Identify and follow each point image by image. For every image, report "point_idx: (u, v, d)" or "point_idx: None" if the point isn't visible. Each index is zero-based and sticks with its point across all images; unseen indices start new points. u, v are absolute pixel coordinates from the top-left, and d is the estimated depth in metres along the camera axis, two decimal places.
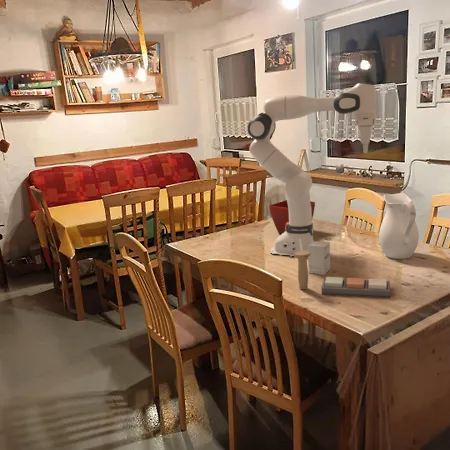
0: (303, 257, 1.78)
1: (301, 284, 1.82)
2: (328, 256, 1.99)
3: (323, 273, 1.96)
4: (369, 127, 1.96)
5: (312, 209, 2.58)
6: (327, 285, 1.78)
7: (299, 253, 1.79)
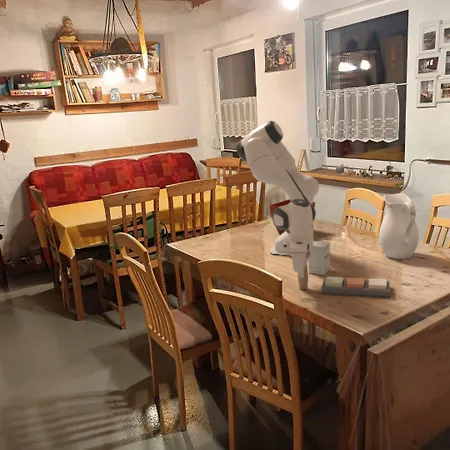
0: None
1: (301, 284, 1.82)
2: (328, 256, 1.99)
3: (323, 273, 1.96)
4: (302, 255, 1.71)
5: None
6: (327, 285, 1.78)
7: None
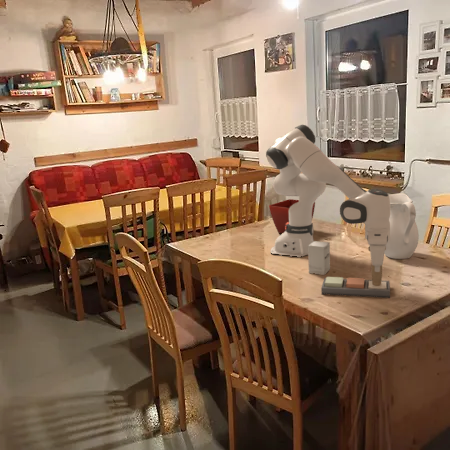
0: None
1: (375, 280, 1.73)
2: (328, 256, 1.99)
3: (323, 273, 1.96)
4: (382, 247, 1.62)
5: (312, 209, 2.58)
6: (327, 285, 1.78)
7: None
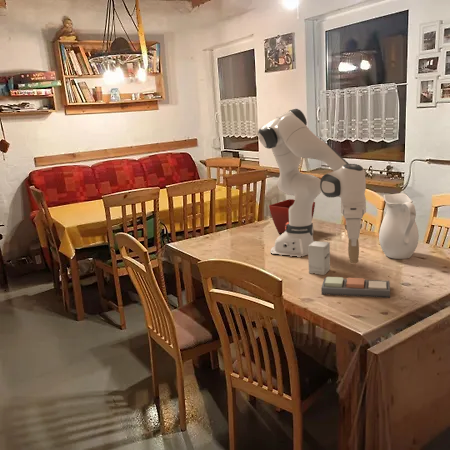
0: None
1: (352, 258, 1.75)
2: (328, 256, 1.99)
3: (323, 273, 1.96)
4: (358, 221, 1.63)
5: (312, 209, 2.58)
6: (327, 285, 1.78)
7: None
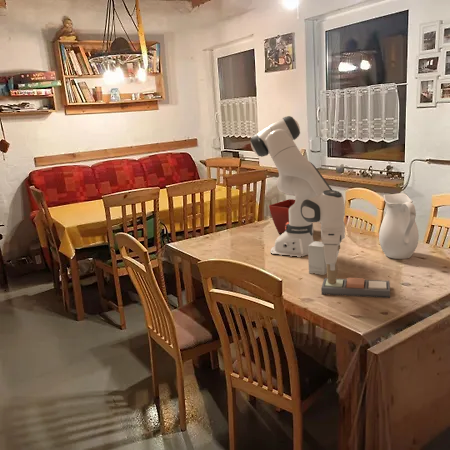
0: None
1: (329, 278, 1.78)
2: None
3: (323, 273, 1.96)
4: (335, 246, 1.67)
5: None
6: None
7: None
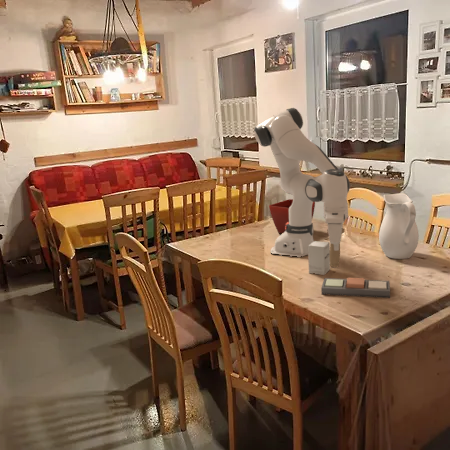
0: None
1: (332, 261, 1.77)
2: (328, 256, 1.99)
3: (323, 273, 1.96)
4: (339, 226, 1.65)
5: (312, 209, 2.58)
6: None
7: None
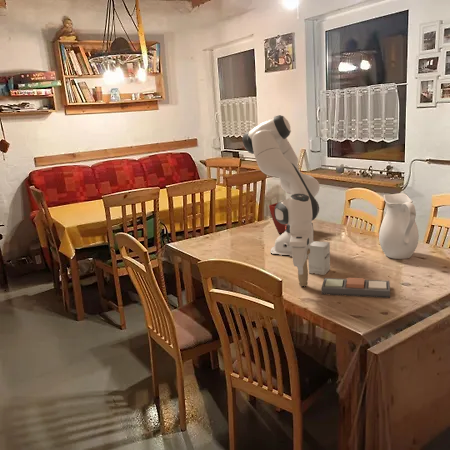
0: None
1: (301, 281, 1.84)
2: (328, 256, 1.99)
3: (323, 273, 1.96)
4: (302, 249, 1.71)
5: None
6: None
7: None
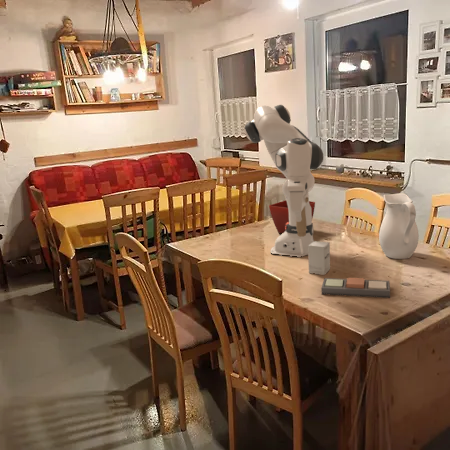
0: None
1: (299, 231, 1.79)
2: (328, 256, 1.99)
3: (323, 273, 1.96)
4: (300, 193, 1.65)
5: (312, 209, 2.58)
6: None
7: None
